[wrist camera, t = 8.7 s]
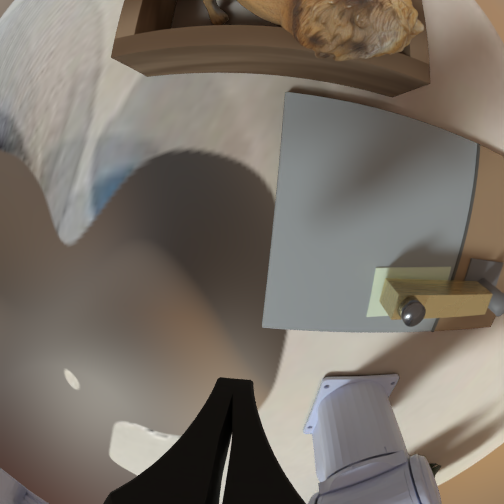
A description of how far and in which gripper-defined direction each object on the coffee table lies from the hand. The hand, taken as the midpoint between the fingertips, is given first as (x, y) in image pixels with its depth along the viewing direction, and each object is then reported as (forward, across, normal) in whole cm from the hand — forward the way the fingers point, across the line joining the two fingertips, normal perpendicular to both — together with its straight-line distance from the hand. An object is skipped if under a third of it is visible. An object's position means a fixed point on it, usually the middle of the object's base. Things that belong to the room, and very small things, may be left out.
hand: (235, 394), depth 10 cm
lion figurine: (+10, -1, -18) cm, 21 cm away
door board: (+10, -13, -5) cm, 17 cm away
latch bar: (+8, -14, -1) cm, 16 cm away
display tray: (+10, -1, -19) cm, 21 cm away
